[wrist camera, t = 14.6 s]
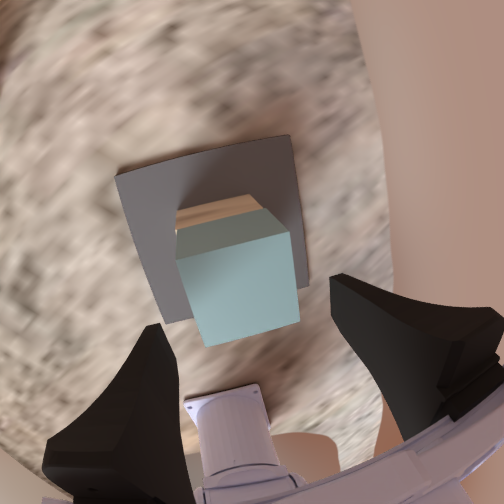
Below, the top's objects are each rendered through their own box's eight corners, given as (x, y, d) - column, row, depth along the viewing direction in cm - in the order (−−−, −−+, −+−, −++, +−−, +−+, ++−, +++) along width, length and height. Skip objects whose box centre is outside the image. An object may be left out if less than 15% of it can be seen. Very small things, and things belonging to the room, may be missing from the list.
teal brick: (278, 284, 19) (300, 321, 15) (199, 305, 18) (205, 347, 14) (265, 207, 16) (289, 231, 13) (176, 229, 16) (175, 260, 12)
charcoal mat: (307, 282, 24) (309, 285, 24) (165, 320, 23) (165, 324, 23) (287, 134, 19) (290, 135, 19) (115, 175, 18) (114, 176, 18)
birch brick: (260, 259, 22) (275, 285, 19) (194, 275, 21) (197, 305, 18) (249, 193, 20) (263, 208, 16) (176, 210, 19) (174, 229, 16)
